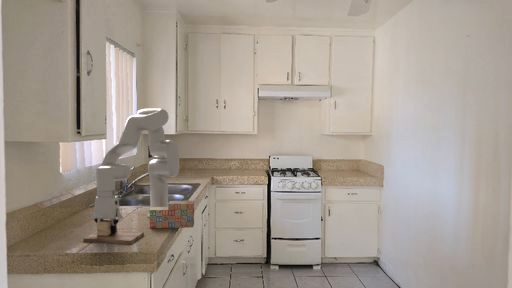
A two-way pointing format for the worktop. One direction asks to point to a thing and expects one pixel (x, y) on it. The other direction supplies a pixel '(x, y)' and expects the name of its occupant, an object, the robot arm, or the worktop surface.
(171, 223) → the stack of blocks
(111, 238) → the board
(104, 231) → the block
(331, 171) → the worktop surface
